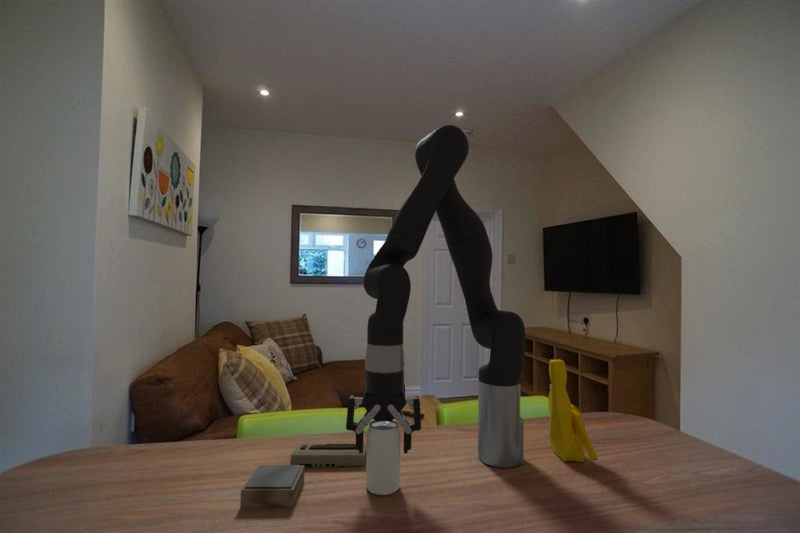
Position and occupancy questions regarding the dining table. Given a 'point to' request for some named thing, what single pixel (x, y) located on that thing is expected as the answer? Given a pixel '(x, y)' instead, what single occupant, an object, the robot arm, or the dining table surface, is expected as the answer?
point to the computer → (328, 455)
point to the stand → (273, 486)
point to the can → (383, 457)
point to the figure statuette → (566, 419)
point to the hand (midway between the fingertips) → (383, 451)
